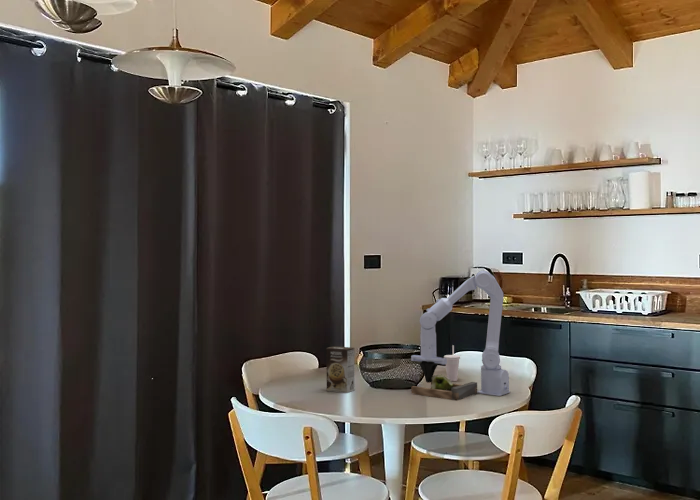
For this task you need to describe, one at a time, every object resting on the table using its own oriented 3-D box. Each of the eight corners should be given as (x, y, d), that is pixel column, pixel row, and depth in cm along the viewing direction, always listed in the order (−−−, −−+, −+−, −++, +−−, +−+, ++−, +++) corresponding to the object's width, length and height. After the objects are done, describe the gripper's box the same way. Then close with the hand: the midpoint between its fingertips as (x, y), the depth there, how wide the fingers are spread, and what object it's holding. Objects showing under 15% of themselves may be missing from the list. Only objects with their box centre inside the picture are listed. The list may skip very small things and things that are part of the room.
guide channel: (477, 393, 246) (477, 382, 246) (456, 400, 235) (456, 388, 235) (433, 387, 258) (432, 376, 258) (411, 393, 248) (411, 382, 248)
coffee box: (325, 391, 255) (325, 347, 255) (334, 388, 260) (333, 345, 260) (347, 393, 250) (346, 349, 250) (355, 389, 256) (354, 346, 256)
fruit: (444, 400, 242) (439, 378, 242) (426, 398, 250) (421, 376, 249) (461, 391, 248) (457, 370, 248) (443, 389, 255) (438, 369, 255)
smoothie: (455, 382, 267) (455, 346, 267) (441, 380, 271) (440, 345, 271) (463, 379, 272) (462, 344, 272) (449, 378, 276) (448, 343, 276)
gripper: (406, 344, 253) (406, 381, 253) (439, 348, 243) (439, 386, 243) (417, 342, 258) (417, 378, 258) (449, 345, 249) (450, 383, 249)
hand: (429, 382), depth 251 cm, fingers closed
